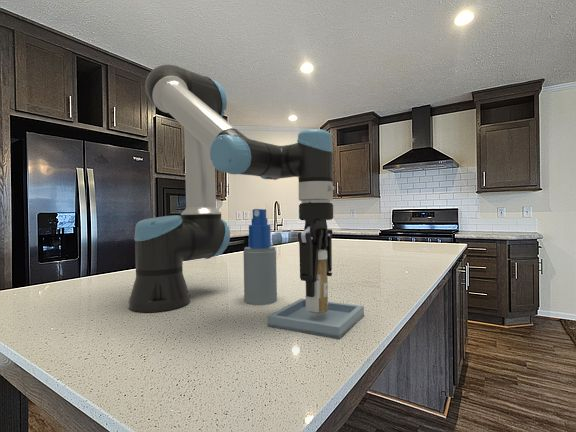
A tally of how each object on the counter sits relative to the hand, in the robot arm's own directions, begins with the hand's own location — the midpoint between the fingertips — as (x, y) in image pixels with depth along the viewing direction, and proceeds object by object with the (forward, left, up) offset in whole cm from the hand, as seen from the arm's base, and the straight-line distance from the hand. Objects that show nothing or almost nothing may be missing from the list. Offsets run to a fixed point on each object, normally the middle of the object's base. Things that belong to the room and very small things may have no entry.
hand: (317, 307), depth 74 cm
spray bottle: (-21, +9, -3) cm, 23 cm away
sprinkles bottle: (0, 0, -1) cm, 1 cm away
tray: (0, 0, -3) cm, 3 cm away
